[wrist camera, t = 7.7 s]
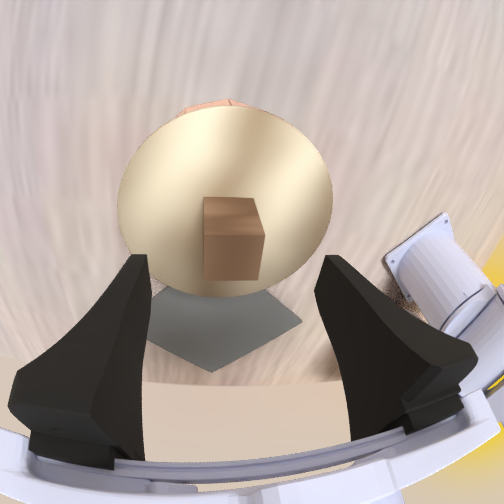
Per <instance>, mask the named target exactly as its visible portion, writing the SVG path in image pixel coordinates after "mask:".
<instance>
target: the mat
mask: <svg viewBox="0 0 504 504" xmlns="http://www.w3.org/2000/svg"><path fill="white" fill-rule="evenodd" d="M300 323H302V320H301V319H300V318H299V317H298V316H296V315H295V314H294V313H293V312H291V311H290V310H289V309H288V308H287V307H285V306H284V305H283V304H282V303H281V302H279V301H278V300H277V299H276V298H275V297H273V296H272V295H271V294H270V293H269V292H267V291H266V290H265V289H263V290H261V291H258V292H255V293H251V294H247V295H242V296H235V297H222V298H219V297H204V296H197V295H193V294H189V293H185V292H182V291H179V290H177V289H174V288H172V287H170V286H167V287H166V288H165V289H163V290H162V291H161V292H159V293H158V294H157V295H156V296H154V297H153V298H152V299H151V315H150V321H149V327H148V333H147V340H149V341H151V342H152V343H154V344H156V345H158V346H160V347H162V348H163V349H165V350H167V351H169V352H171V353H173V354H175V355H177V356H179V357H181V358H183V359H185V360H187V361H189V362H191V363H193V364H195V365H197V366H199V367H201V368H203V369H205V370H207V371H209V372H211V373H212V372H214V371H216V370H218V369H220V368H222V367H224V366H225V365H227V364H229V363H231V362H233V361H235V360H237V359H239V358H240V357H242V356H244V355H246V354H248V353H250V352H251V351H253V350H255V349H257V348H259V347H260V346H262V345H264V344H266V343H268V342H269V341H271V340H273V339H275V338H276V337H278V336H280V335H282V334H283V333H285V332H287V331H288V330H290V329H292V328H293V327H295V326H297V325H298V324H300Z"/></svg>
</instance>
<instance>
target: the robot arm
mask: <svg viewBox="0 0 504 504" xmlns="http://www.w3.org/2000/svg"><path fill="white" fill-rule="evenodd" d="M385 261H386V263H387V265H388V267H389V268H390V270H391V272H392V274H393V276H394V278H395V279H396V281H397V283H398V285H399V287H400V289H401V291H402V293H403V295H404V297H405V299H406V301H407V302H408V303H410V302H412V301H413V300H414V301H415V303H416V304H417V306H418V307H419V309H420V311H421V312H422V314H423V315H424V317H425V319H426V320H427V322H428V324H429V325H428V324H427V323H425V322H423V321H422V320H420V319H418V318H417V317H415V316H413V315H412V314H410V313H409V312H407V311H406V310H405V309H403V308H402V307H400V306H399V305H397V304H396V303H395V302H393V301H392V300H391V299H390V298H388V297H387V296H386V295H385V294H383V293H382V292H381V291H380V290H379V289H377V288H376V287H375V286H374V285H373V284H372V283H370V282H369V281H368V280H367V279H366V278H365V277H364V276H363V275H361V274H360V273H359V272H358V271H357V270H356V269H355V268H354V267H352V266H351V265H350V264H349V263H348V262H347V261H345V260H344V259H343V258H342V257H340V256H339V255H325V259H324V262H323V265H322V268H321V271H320V274H319V277H318V280H317V283H316V286H315V289H314V293H315V297H316V302H317V306H318V310H319V313H320V316H321V318H322V321H323V323H324V326H325V329H326V331H327V334H328V336H329V339H330V341H331V344H332V347H333V349H334V352H335V355H336V358H337V361H338V364H339V368H340V372H341V377H342V381H343V386H344V391H345V395H346V401H347V408H348V415H349V424H350V433H351V442H348V443H344V444H340V445H336V446H331V447H327V448H322V449H317V450H312V451H307V452H301V453H295V454H289V455H283V456H276V457H269V458H260V459H250V460H240V461H226V462H202V463H201V462H200V463H172V462H148V461H145V454H144V443H143V428H142V367H143V358H144V352H145V345H146V339H147V333H148V327H149V321H150V315H151V299H152V290H151V282H150V275H149V267H148V259H147V254H132V255H131V256H130V257H129V258H128V260H127V261H126V263H125V264H124V265H123V267H122V268H121V270H120V271H119V273H118V274H117V276H116V277H115V278H114V280H113V281H112V282H111V284H110V285H109V286H108V288H107V289H106V291H105V292H104V293H103V294H102V296H101V297H100V298H99V299H98V301H97V302H96V303H95V304H94V306H93V307H92V308H91V309H90V310H89V311H88V312H87V314H86V315H85V316H84V317H83V318H82V319H81V320H80V321H79V322H78V323H77V324H76V325H75V326H74V327H73V328H72V329H71V330H70V331H69V332H68V333H67V334H66V335H65V336H64V337H63V338H61V339H60V340H59V341H58V342H57V343H56V344H54V345H53V346H52V347H51V348H49V349H48V350H47V351H46V352H44V353H43V354H42V355H40V356H39V357H38V358H36V359H35V360H33V361H32V362H30V363H29V364H27V365H26V366H24V367H23V368H21V369H19V370H18V371H17V373H16V376H15V379H14V382H13V385H12V389H11V393H10V397H9V402H8V408H9V410H10V412H11V413H12V414H13V415H14V416H15V417H16V418H17V419H18V420H19V421H20V422H22V423H23V424H24V425H25V426H26V427H28V428H29V429H30V430H31V435H30V438H29V437H27V436H25V435H22V434H20V433H16V432H13V431H10V430H6V429H3V428H0V493H1V494H4V495H6V496H8V497H11V498H13V499H16V500H19V501H21V502H24V503H27V504H404V499H403V496H402V493H401V490H400V489H402V488H404V487H407V486H409V485H411V484H413V483H415V482H417V481H420V480H422V479H424V478H425V477H428V476H430V475H431V474H433V473H435V472H437V471H439V470H441V469H443V468H444V467H446V466H448V465H450V464H452V463H453V462H455V461H457V460H458V459H460V458H462V457H463V456H465V455H466V454H468V453H469V452H471V451H473V450H474V449H476V448H477V447H479V446H480V445H482V444H483V443H485V442H486V441H488V440H489V439H491V438H492V437H494V436H495V435H496V434H498V433H499V432H500V431H501V429H500V427H499V425H498V422H501V423H502V425H503V427H504V379H503V380H502V381H501V382H499V383H498V384H497V385H496V386H495V387H493V388H491V389H489V390H487V389H488V388H489V387H490V386H491V385H492V384H494V383H495V382H496V381H497V380H498V379H500V378H501V377H502V376H503V375H504V284H500V285H499V286H498V288H496V287H494V285H493V284H492V283H491V282H490V281H489V279H488V278H487V277H486V276H485V274H484V273H483V272H482V271H481V270H480V268H479V267H478V266H477V265H476V264H475V263H474V261H473V260H472V259H471V258H470V257H469V256H468V255H467V254H466V252H465V251H464V250H463V249H462V248H461V247H460V246H459V245H458V244H457V243H456V242H455V240H454V236H453V231H452V227H451V223H450V220H449V216H448V214H447V213H442V214H441V215H440V216H438V217H437V218H436V219H434V220H433V221H432V222H430V223H429V224H428V225H427V226H425V227H424V228H423V229H421V230H420V231H419V232H417V233H416V234H415V235H413V236H412V237H411V238H409V239H408V240H407V241H405V242H404V243H402V244H401V245H400V246H398V247H397V248H396V249H394V250H393V251H391V252H390V253H389V254H387V255H386V257H385ZM361 458H362V459H361ZM358 459H359V460H358ZM354 460H357V461H355V462H354V463H353V465H351V466H350V467H347V468H344V469H340V470H336V471H332V472H328V473H323V474H319V475H314V476H310V477H305V478H299V479H294V480H289V481H284V482H278V483H272V484H266V485H260V486H253V487H247V488H239V489H231V490H221V491H209V492H198V489H197V487H196V486H195V485H185V484H208V483H228V482H241V481H251V480H260V479H268V478H275V477H282V476H288V475H294V474H299V473H305V472H309V471H314V470H319V469H323V468H328V467H332V466H336V465H340V464H344V463H347V462H351V461H354Z"/></svg>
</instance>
